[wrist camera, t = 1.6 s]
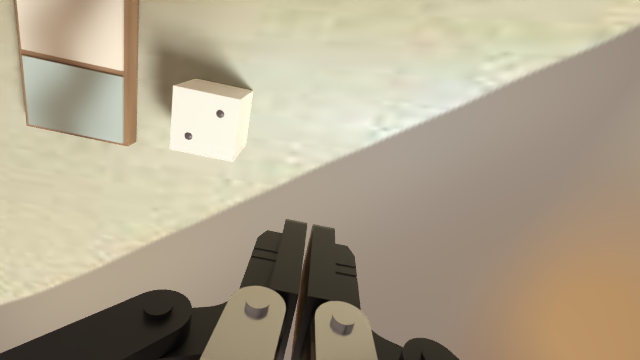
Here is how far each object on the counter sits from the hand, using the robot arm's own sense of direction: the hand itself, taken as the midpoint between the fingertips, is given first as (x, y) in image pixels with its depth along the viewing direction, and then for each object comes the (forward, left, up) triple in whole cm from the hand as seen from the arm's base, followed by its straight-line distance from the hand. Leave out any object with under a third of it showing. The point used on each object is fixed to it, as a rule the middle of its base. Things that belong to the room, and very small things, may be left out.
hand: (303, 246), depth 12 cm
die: (+7, 0, -15) cm, 17 cm away
